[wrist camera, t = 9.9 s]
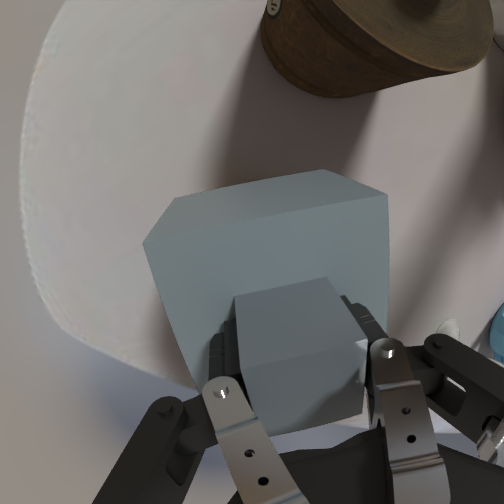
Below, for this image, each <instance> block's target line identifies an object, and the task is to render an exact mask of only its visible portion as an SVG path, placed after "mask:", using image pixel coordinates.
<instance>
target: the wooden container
mask: <svg viewBox="0 0 504 504" xmlns="http://www.w3.org/2000/svg"><path fill="white" fill-rule="evenodd" d="M493 35H494V20H493V13H492V9H491V5H490V1H489V0H268V1H267V5H266V8H265V11H264V15H263V18H262V23H261V38H262V43H263V47H264V49H265V52H266V54H267V56H268V58H269V60H270V61H271V63H272V64H273V66H274V67H275V68H276V70H277V71H278V72H279V73H280V74H281V75H282V76H283V77H284V78H285V79H286V80H288V81H289V82H290V83H292V84H293V85H295V86H296V87H298V88H300V89H302V90H304V91H306V92H308V93H311V94H314V95H317V96H322V97H326V98H347V97H353V96H357V95H360V94H365V93H370V92H374V91H378V90H382V89H386V88H390V87H393V86H397V85H400V84H404V83H407V82H412V81H416V80H420V79H424V78H428V77H436V76H442V75H448V74H453V73H457V72H460V71H464V70H467V69H470V68H472V67H474V66H476V65H477V64H478V63H480V62H481V61H482V60H483V59H484V57H485V56H486V55H487V53H488V52H489V50H490V47H491V44H492V40H493Z"/></svg>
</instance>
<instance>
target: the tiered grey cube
mask: <svg viewBox="0 0 504 504" xmlns="http://www.w3.org/2000/svg"><path fill="white" fill-rule="evenodd" d="M142 244H143V247H144V250H145V253H146V256H147V260H148V263H149V266H150V269H151V272H152V275H153V278H154V281H155V284H156V286H157V289H158V292H159V295H160V298H161V301H162V303H163V306H164V309H165V312H166V314H167V317H168V320H169V322H170V325H171V327H172V330H173V333H174V335H175V338H176V340H177V343H178V345H179V348H180V350H181V353H182V355H183V358H184V360H185V362H186V365H187V367H188V369H189V372H190V374H191V376H192V379H193V381H194V383H195V386H196V388H197V390H198V392H199V394H201V393H202V389H203V387H204V385H205V384H206V383H207V382H208V377H209V351H210V350H209V347H210V340H211V339H212V337H213V336H214V334H216V333H222V332H224V321H226V320H231V319H236V324H237V336H238V347H239V359H240V369H241V373H242V376H243V379H244V383H245V386H246V389H247V392H248V396H249V399H250V402H251V405H252V409H253V412H254V415H255V417H258V419H259V420H260V422H261V424H262V426H263V427H264V429H265V431H266V433H267V435H268V436H269V437H271V436H275V435H280V434H286V433H290V432H295V431H300V430H304V429H308V428H312V427H316V426H320V425H324V424H328V423H331V422H335V421H339V420H342V419H345V418H349V417H352V416H355V415H359V414H362V407H363V398H364V387H365V374H366V360H367V340H368V338H367V337H366V335H365V334H364V332H363V331H362V329H361V328H360V326H359V325H358V323H357V321H356V320H355V318H354V317H353V315H352V314H351V312H350V311H349V309H348V308H347V306H346V305H345V303H344V302H343V300H342V299H341V297H340V296H341V295H345V296H346V297H347V298H348V300H349V301H350V303H351V304H354V303H360V304H361V305H363V306H365V307H366V308H367V309H368V310H369V311H370V313H371V315H373V317H374V318H375V321H377V322H378V324H379V325H380V326H381V328H382V329H383V330H384V332H385V333H386V331H387V317H388V298H389V214H388V195H387V194H385V193H383V192H381V191H378V190H376V189H374V188H371V187H369V186H366V185H364V184H361V183H359V182H357V181H354V180H352V179H349V178H346V177H344V176H341V175H339V174H336V173H334V172H331V171H328V170H326V169H321V170H315V171H309V172H303V173H297V174H291V175H285V176H279V177H274V178H268V179H263V180H258V181H253V182H247V183H242V184H237V185H233V186H228V187H223V188H218V189H214V190H209V191H204V192H200V193H195V194H191V195H187V196H182V197H178V198H174V200H173V201H172V202H171V204H170V205H169V206H168V208H167V209H166V211H165V212H164V213H163V215H162V216H161V217H160V219H159V220H158V222H157V223H156V224H155V226H154V227H153V229H152V230H151V231H150V233H149V234H148V236H147V237H146V238H145V240H144V241H143V243H142Z"/></svg>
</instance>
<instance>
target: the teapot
mask: <svg viewBox="0 0 504 504" xmlns="http://www.w3.org/2000/svg"><path fill="white" fill-rule="evenodd" d="M489 338H490V346H491V348H492V350H493V351H494V360H496V361H498V362H500V363H502V364H503V365H504V303H503V305H502V306H501V307H500V309H499V310H498V312H497V314H496V316H495V318H494V320H493V322H492V325H491V328H490V335H489Z"/></svg>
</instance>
